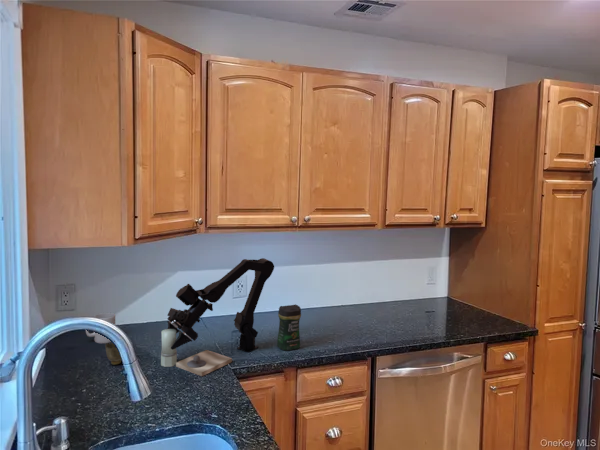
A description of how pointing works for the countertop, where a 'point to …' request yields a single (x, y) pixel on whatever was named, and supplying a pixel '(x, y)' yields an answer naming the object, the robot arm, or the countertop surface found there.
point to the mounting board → (204, 362)
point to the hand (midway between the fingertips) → (167, 345)
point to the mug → (99, 338)
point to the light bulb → (168, 348)
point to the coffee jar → (289, 327)
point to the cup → (112, 354)
